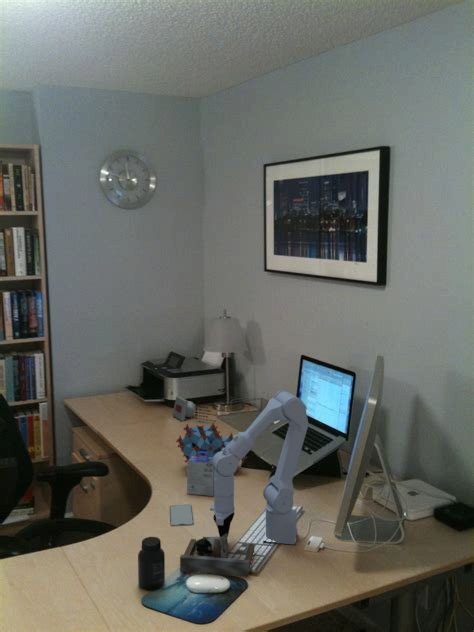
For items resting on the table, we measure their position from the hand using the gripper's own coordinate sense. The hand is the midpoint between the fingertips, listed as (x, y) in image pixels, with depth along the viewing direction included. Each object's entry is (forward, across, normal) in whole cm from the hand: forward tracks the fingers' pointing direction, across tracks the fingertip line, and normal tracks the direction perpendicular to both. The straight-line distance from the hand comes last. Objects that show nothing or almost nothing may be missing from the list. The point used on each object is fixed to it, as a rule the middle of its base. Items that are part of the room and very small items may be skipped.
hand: (223, 537), depth 188 cm
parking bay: (+2, +8, 0) cm, 9 cm away
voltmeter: (+3, -120, -35) cm, 125 cm away
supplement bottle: (+3, +24, -15) cm, 28 cm away
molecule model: (+3, -58, -15) cm, 60 cm away
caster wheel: (+3, +6, -2) cm, 7 cm away
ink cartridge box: (+3, -36, -14) cm, 39 cm away
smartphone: (+3, -18, -17) cm, 25 cm away
